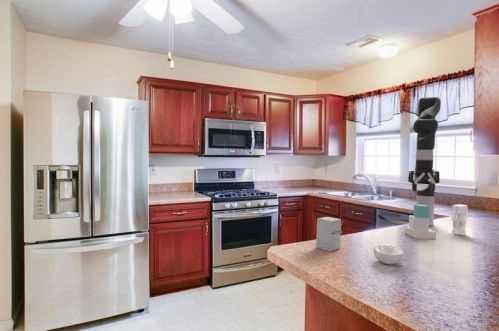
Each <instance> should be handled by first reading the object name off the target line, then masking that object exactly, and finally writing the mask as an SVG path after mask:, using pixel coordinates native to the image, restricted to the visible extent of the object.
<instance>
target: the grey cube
mask: <svg viewBox="0 0 499 331" xmlns="http://www.w3.org/2000/svg"><path fill="white" fill-rule="evenodd" d="M408 221H409V222H408V227H410V228H412V229H413V230H424V231H429V229H430V226H429V218H417V217H415V216H414V214H413V215H409V216H408Z"/></svg>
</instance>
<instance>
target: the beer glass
mask: <svg viewBox="0 0 499 331" xmlns="http://www.w3.org/2000/svg"><path fill="white" fill-rule="evenodd" d="M468 207H469V206H468V205H465V204H452V208H451V220H452V221H451V222H452V231H451V234H453V235H457V236H467V231H466V227H467V226H466V225H467V221H468V217H469V216H468V215H469V209H468Z"/></svg>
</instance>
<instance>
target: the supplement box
mask: <svg viewBox="0 0 499 331" xmlns="http://www.w3.org/2000/svg"><path fill="white" fill-rule="evenodd" d="M341 228H342V219H341V218H336V217H335V218H334V217H330V216H324V217H318V218H317V219H316V237H315V238H316V241H315V242H316V243H315V244H316V245H315V247H316V248H317V249H319V250H322V251H326V252H333V251H336V250H340V249H341V235H342V233H341V231H342V229H341Z"/></svg>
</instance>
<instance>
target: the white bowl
mask: <svg viewBox="0 0 499 331" xmlns="http://www.w3.org/2000/svg"><path fill="white" fill-rule="evenodd" d="M372 249H373V255H374V257H375V259H377V261H379V262H381V263H383V264H384V265H395V264H396V265H397V264H399V263H401V262H402V260H403V256H404V250H403V249H401V248H399V247H398V246H393V245H389V244H388V245H385V244H384V245H383V244H382V245H375V246H373V247H372Z"/></svg>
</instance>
